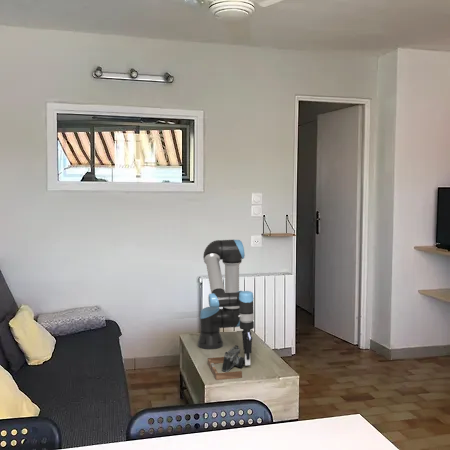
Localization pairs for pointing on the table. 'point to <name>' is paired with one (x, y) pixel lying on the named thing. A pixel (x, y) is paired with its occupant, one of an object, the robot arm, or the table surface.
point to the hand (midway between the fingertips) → (247, 364)
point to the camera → (232, 359)
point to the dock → (222, 375)
